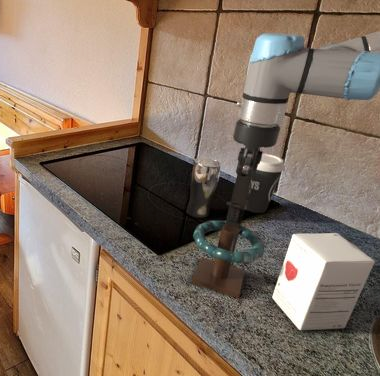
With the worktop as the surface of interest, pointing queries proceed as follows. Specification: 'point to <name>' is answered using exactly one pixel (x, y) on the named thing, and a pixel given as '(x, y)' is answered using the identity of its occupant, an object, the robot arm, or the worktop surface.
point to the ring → (225, 254)
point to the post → (221, 267)
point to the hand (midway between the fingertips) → (231, 230)
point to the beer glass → (202, 186)
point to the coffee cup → (264, 183)
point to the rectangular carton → (321, 280)
